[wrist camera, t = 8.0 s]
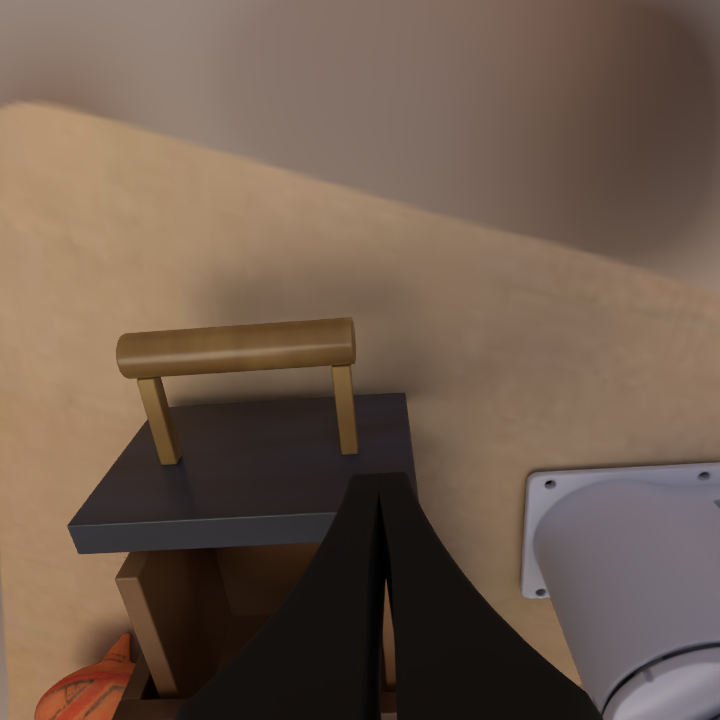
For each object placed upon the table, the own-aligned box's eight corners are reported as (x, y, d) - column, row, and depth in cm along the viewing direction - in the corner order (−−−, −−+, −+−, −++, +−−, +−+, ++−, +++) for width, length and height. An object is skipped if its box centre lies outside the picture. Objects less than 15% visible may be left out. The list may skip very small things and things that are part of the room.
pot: (38, 626, 30) (-13, 751, 23) (181, 599, 31) (168, 710, 25) (73, 719, 33) (35, 851, 26) (202, 689, 34) (194, 808, 28)
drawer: (125, 299, 21) (7, 383, 14) (399, 279, 20) (413, 356, 13) (212, 609, 28) (163, 762, 21) (416, 601, 27) (430, 755, 21)
